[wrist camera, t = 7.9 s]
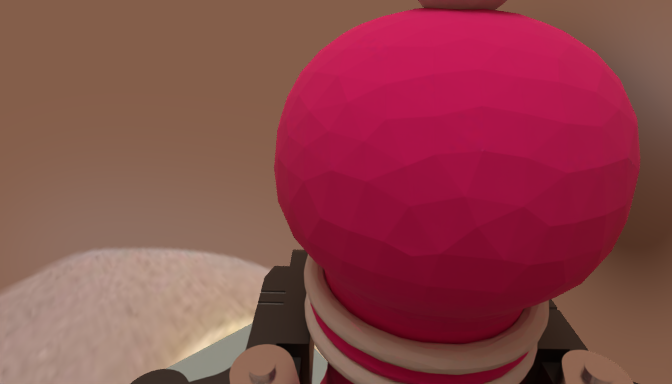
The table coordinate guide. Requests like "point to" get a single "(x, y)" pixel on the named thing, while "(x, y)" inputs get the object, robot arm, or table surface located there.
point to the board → (230, 358)
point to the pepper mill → (450, 189)
